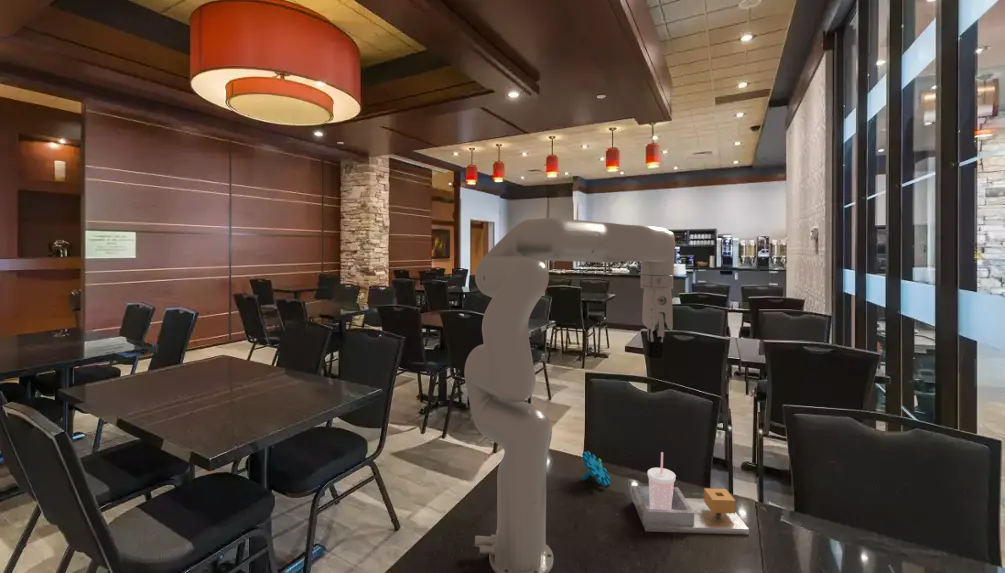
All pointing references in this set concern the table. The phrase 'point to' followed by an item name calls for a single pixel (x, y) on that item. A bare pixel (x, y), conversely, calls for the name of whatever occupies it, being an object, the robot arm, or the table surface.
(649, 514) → the gray tray
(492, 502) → the table surface
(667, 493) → the beverage cup
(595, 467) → the blue lobed piece
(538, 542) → the robot arm
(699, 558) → the table surface
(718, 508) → the amber wooden brick
